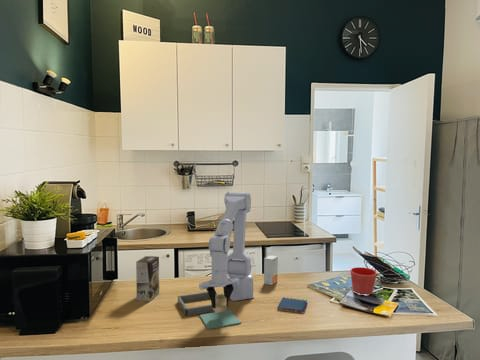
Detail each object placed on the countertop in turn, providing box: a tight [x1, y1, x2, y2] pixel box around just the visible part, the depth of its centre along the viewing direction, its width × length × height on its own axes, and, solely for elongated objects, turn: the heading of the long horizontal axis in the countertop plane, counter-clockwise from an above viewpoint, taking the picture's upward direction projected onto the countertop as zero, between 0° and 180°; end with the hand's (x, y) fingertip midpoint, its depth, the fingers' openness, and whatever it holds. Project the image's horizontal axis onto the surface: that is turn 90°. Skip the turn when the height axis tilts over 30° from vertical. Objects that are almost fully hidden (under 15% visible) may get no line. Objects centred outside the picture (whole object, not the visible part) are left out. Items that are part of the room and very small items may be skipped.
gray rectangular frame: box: [177, 291, 218, 317], centre depth 145 cm, size 16×14×2 cm
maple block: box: [212, 293, 228, 313], centre depth 133 cm, size 4×4×5 cm
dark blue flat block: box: [276, 297, 308, 314], centre depth 144 cm, size 10×11×2 cm
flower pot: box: [350, 266, 377, 295], centre depth 158 cm, size 11×11×10 cm
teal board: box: [199, 309, 242, 330], centre depth 133 cm, size 12×11×1 cm
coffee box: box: [135, 255, 160, 302], centre depth 154 cm, size 9×6×16 cm
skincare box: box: [263, 255, 279, 286], centre depth 171 cm, size 6×4×12 cm
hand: (219, 306), depth 133 cm, fingers closed on maple block, 4 cm apart
